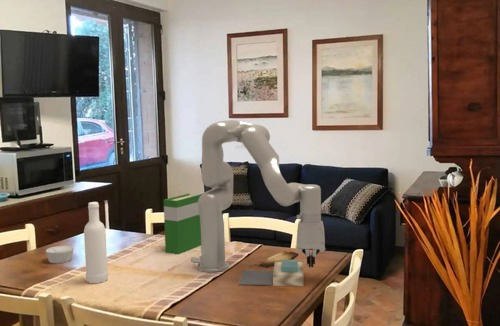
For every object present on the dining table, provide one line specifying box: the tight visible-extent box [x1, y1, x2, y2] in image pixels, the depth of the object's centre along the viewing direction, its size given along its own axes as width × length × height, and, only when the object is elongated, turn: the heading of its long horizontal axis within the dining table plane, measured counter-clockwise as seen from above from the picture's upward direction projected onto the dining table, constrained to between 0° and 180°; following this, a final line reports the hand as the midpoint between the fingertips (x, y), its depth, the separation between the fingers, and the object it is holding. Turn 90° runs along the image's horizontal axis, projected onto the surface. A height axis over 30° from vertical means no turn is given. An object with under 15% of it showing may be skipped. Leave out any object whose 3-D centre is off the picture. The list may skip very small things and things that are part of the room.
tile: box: [281, 259, 299, 272], centre depth 200 cm, size 6×9×2 cm, turn 175°
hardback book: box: [163, 193, 202, 255], centre depth 244 cm, size 18×7×24 cm, turn 149°
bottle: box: [83, 201, 109, 284], centre depth 201 cm, size 8×8×30 cm
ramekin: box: [45, 245, 74, 264], centre depth 229 cm, size 11×11×5 cm
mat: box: [238, 269, 273, 287], centre depth 202 cm, size 12×16×1 cm
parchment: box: [254, 250, 299, 269], centre depth 225 cm, size 25×10×1 cm, turn 145°
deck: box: [272, 261, 304, 287], centre depth 200 cm, size 11×16×4 cm
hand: (310, 266), depth 199 cm, fingers closed
